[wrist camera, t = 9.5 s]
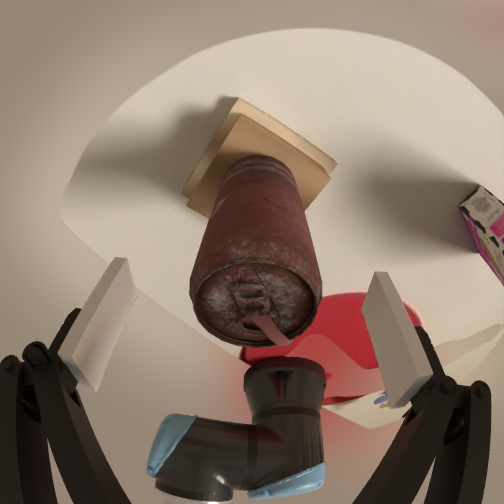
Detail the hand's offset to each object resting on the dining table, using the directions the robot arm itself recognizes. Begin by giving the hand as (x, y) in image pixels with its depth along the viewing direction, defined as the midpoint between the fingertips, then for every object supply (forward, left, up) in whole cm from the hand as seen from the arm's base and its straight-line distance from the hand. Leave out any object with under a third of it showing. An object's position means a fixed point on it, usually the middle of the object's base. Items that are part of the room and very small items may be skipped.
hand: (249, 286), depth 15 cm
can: (+1, 0, -12) cm, 12 cm away
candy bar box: (+13, -28, -17) cm, 35 cm away
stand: (0, 0, -16) cm, 16 cm away
